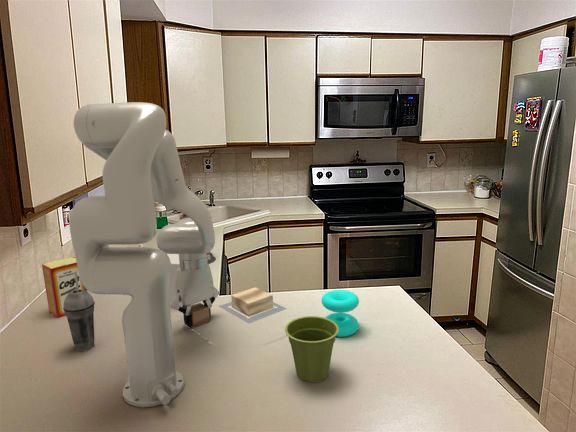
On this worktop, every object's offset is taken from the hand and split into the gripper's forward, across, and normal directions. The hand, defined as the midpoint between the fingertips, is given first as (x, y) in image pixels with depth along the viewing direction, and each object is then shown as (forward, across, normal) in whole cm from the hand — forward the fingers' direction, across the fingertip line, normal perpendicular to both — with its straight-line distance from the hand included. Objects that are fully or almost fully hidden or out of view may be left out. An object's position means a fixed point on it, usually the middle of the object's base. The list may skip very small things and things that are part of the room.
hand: (198, 322), depth 120 cm
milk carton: (+1, -3, -15) cm, 15 cm away
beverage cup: (+1, +28, -9) cm, 29 cm away
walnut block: (+1, 0, 0) cm, 1 cm away
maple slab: (0, -17, +3) cm, 17 cm away
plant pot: (+1, -7, +40) cm, 41 cm away
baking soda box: (+1, +25, -37) cm, 45 cm away
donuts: (+1, -27, +30) cm, 40 cm away
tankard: (+1, -25, -53) cm, 59 cm away
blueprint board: (+1, -17, +3) cm, 17 cm away
